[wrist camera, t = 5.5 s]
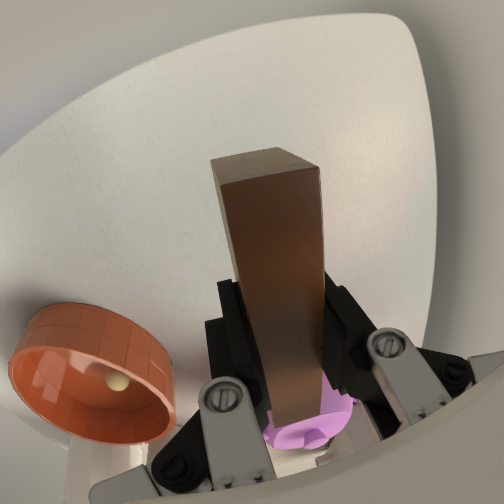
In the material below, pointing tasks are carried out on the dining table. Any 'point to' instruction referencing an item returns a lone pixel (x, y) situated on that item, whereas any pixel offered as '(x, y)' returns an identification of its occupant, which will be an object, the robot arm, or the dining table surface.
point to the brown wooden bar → (279, 269)
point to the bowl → (94, 375)
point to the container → (95, 466)
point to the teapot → (313, 423)
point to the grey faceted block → (348, 439)
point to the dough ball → (116, 379)
